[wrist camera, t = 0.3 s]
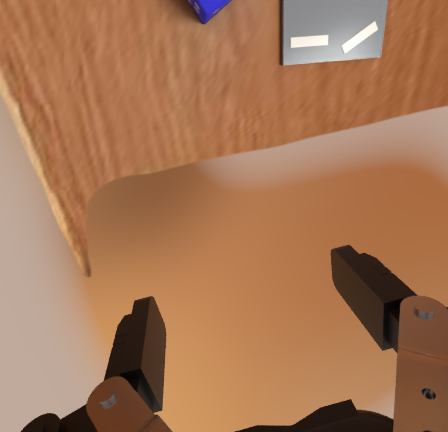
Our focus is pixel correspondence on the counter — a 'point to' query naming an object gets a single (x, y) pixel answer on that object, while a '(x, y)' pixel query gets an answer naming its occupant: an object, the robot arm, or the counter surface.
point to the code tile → (332, 30)
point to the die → (207, 8)
